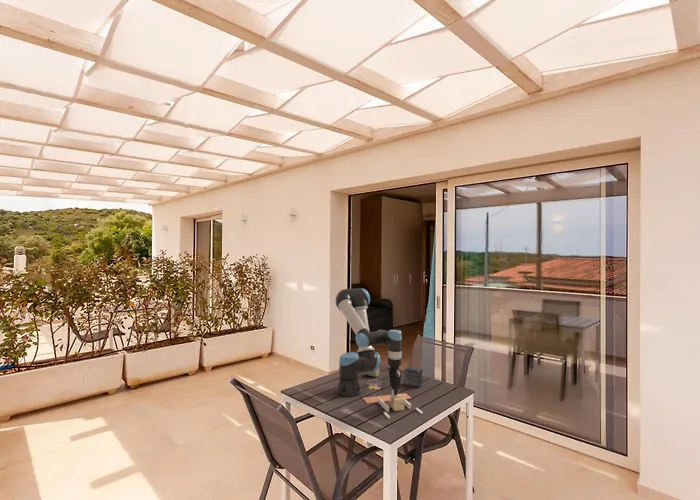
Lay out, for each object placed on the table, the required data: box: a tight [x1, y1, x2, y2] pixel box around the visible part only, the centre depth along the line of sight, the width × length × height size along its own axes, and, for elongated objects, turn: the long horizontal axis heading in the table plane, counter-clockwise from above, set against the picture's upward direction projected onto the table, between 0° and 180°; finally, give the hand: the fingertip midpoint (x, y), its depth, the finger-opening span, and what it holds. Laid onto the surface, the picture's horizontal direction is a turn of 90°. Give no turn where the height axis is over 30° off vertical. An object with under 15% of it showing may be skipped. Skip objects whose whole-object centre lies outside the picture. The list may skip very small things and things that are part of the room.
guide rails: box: [378, 397, 412, 413], centre depth 205 cm, size 14×14×2 cm
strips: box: [383, 407, 424, 419], centre depth 194 cm, size 6×20×1 cm, turn 107°
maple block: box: [389, 395, 406, 412], centre depth 201 cm, size 6×6×6 cm
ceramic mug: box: [365, 367, 381, 378], centre depth 257 cm, size 11×8×8 cm
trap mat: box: [362, 392, 412, 405], centre depth 215 cm, size 8×28×1 cm, turn 107°
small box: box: [404, 366, 423, 388], centre depth 239 cm, size 11×6×10 cm, turn 58°
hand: (394, 400), depth 205 cm, fingers closed
